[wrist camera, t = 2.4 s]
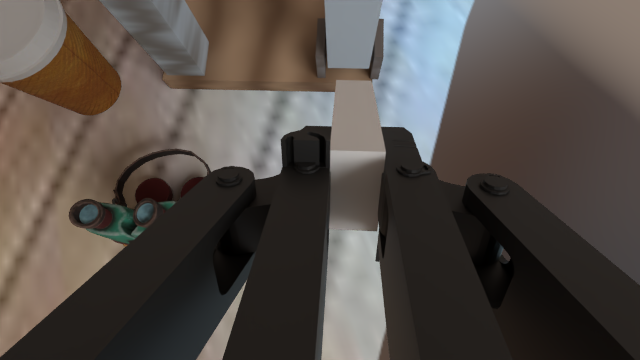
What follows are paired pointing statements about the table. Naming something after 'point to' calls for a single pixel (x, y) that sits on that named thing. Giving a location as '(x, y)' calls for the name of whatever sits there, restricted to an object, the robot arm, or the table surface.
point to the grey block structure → (239, 43)
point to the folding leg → (351, 32)
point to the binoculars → (126, 221)
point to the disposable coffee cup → (53, 58)
